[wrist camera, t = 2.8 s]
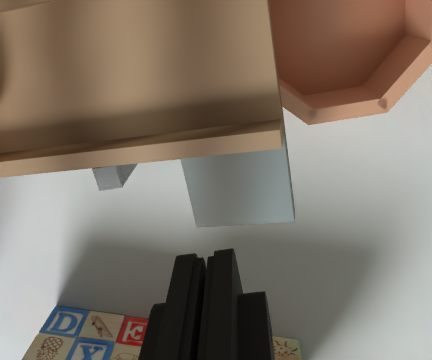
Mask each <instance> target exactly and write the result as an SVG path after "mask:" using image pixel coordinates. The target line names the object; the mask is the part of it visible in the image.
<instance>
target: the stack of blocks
mask: <svg viewBox="0 0 432 360" xmlns="http://www.w3.org/2000/svg"><path fill="white" fill-rule="evenodd" d="M148 320H149V319H143V318H136V317H125V316H124V315H118V314H111V313H103V312H96V311H88V310H82V309H75V308H67V307H60V306H56V307H55V308H54V309H53V311H52V312H51V314H50V316H49V317H48V319H47V320H46V322H45V324H44V325H43V327H42V328H41V330H40V331H39V334H38V335H37V336H36V337H35V339H34V341H33V342H32V344H31V345H30V347H29V349H28V350H27V352H26V354H25V355H24V357H23V358H22V360H138V357H139V354H140V350H141V346H142V342H143V339H144V335H145V331H146V328H147V324H148ZM272 337H273V345H274V355H275V360H302V354H301V348H300V343H299V340H296V339H289V338H282V337H276V336H272Z"/></svg>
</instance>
